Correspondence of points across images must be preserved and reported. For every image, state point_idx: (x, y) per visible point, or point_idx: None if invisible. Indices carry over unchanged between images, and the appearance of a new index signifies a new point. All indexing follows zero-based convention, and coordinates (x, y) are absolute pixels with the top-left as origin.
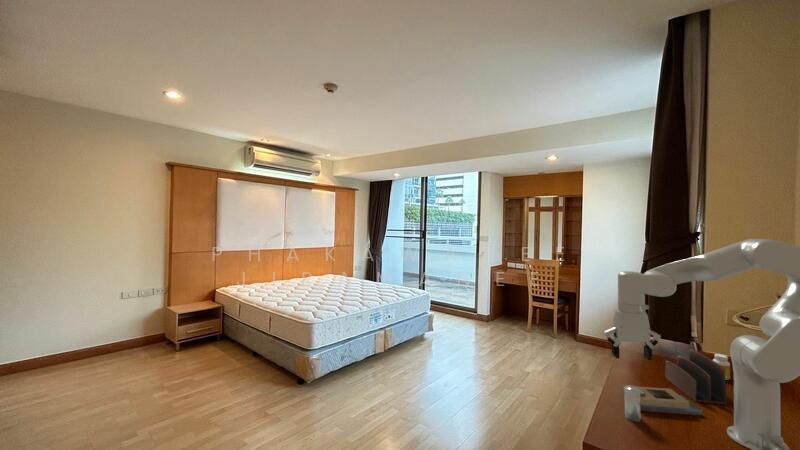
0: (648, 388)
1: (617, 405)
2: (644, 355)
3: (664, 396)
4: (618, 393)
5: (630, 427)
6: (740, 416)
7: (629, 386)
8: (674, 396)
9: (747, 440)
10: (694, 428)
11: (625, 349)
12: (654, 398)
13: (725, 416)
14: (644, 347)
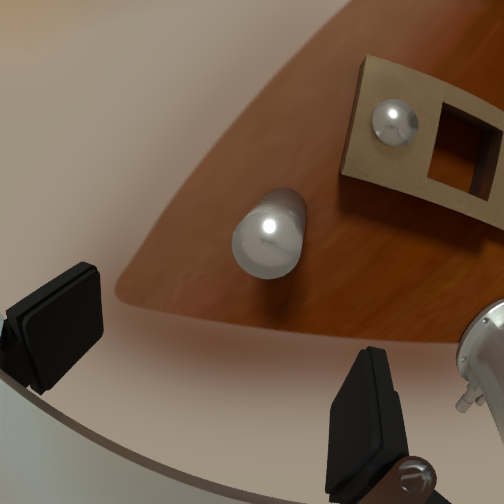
0: (458, 100)
1: (285, 128)
2: (357, 369)
3: (490, 130)
4: (353, 46)
5: None
6: (491, 382)
7: (266, 225)
8: (500, 179)
9: (470, 359)
10: (429, 284)
11: None
12: (419, 179)
13: None
14: (363, 443)
